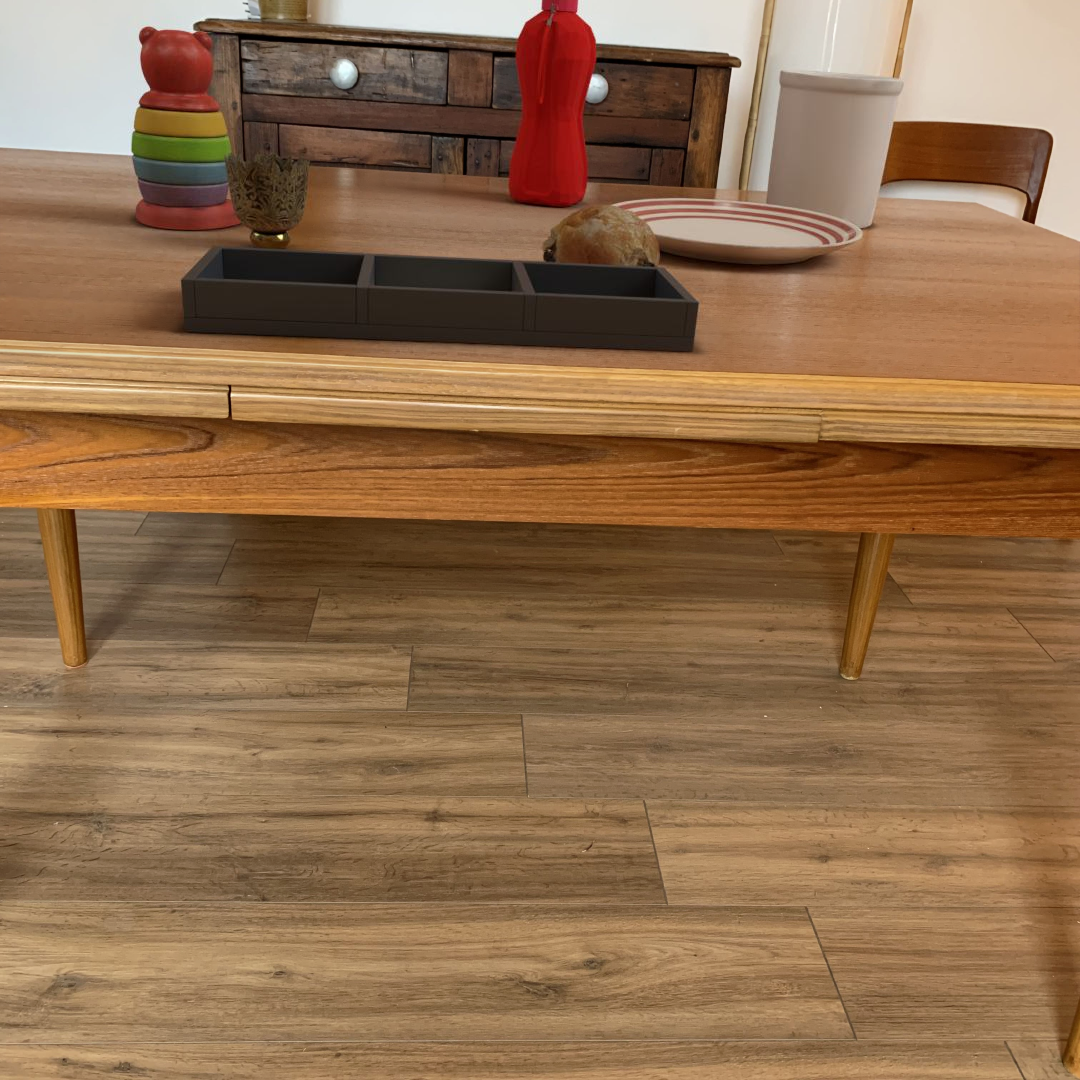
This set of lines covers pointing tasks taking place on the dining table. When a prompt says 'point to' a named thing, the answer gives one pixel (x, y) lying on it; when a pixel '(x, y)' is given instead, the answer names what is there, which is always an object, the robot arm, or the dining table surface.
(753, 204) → the dinner plate
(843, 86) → the utensil holder
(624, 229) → the bread roll
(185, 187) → the stacking bear
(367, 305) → the compartment tray
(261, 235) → the cup
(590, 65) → the water bottle
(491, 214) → the dining table surface
